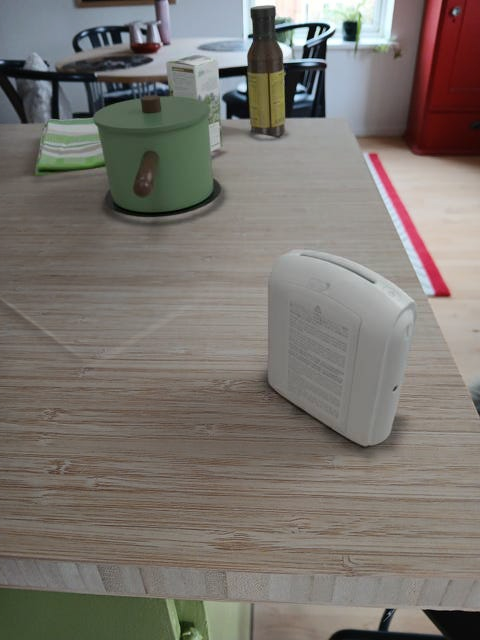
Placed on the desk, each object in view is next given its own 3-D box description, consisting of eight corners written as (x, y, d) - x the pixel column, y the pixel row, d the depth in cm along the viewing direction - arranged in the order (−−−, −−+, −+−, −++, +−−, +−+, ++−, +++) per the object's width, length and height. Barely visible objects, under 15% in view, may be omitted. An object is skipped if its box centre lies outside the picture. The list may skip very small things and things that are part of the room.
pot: (118, 174, 77) (101, 87, 69) (215, 168, 77) (209, 81, 70) (86, 254, 57) (58, 144, 50) (216, 246, 57) (207, 136, 50)
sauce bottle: (282, 128, 95) (283, 2, 83) (287, 138, 90) (288, 6, 78) (248, 130, 95) (243, 5, 83) (250, 141, 90) (246, 9, 78)
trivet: (81, 209, 70) (79, 202, 69) (156, 170, 81) (155, 164, 80) (174, 234, 63) (173, 226, 62) (242, 187, 73) (242, 181, 73)
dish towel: (137, 128, 99) (134, 109, 97) (147, 168, 81) (143, 146, 79) (46, 138, 97) (41, 119, 95) (34, 182, 79) (28, 159, 76)
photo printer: (404, 423, 37) (436, 278, 30) (371, 459, 35) (396, 310, 27) (294, 360, 43) (298, 226, 36) (259, 387, 41) (256, 249, 33)
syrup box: (196, 146, 89) (188, 53, 80) (224, 152, 86) (218, 56, 77) (175, 156, 85) (163, 60, 77) (202, 162, 82) (194, 63, 74)
